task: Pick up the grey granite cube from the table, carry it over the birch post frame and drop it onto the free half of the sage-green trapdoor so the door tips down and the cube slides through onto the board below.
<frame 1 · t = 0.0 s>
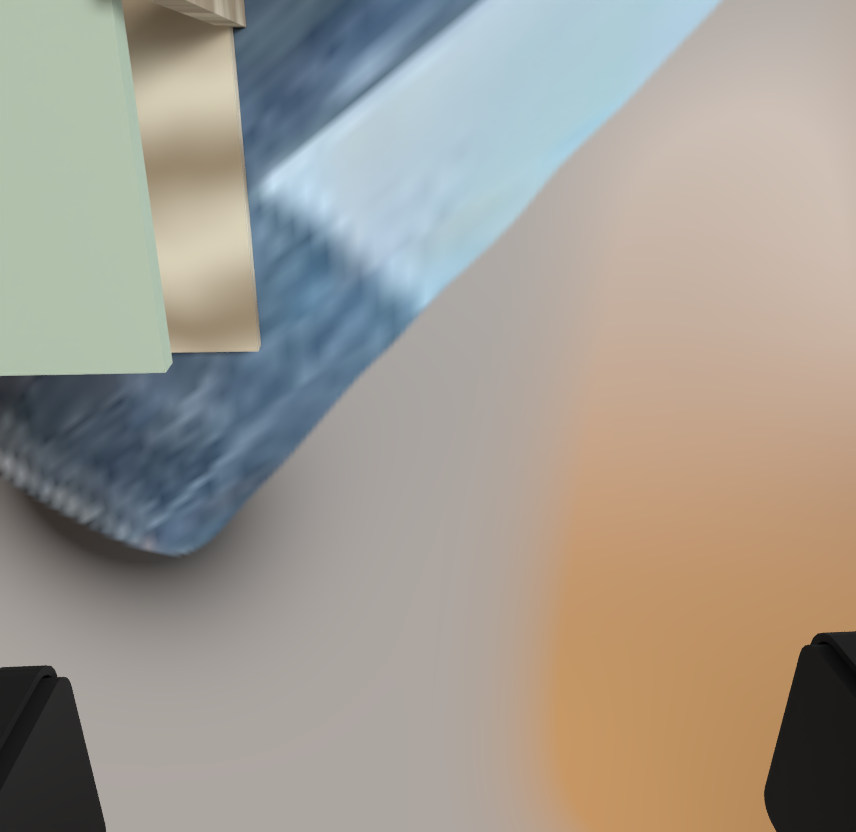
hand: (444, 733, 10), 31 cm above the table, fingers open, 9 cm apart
frame: (92, 145, 35), on the table
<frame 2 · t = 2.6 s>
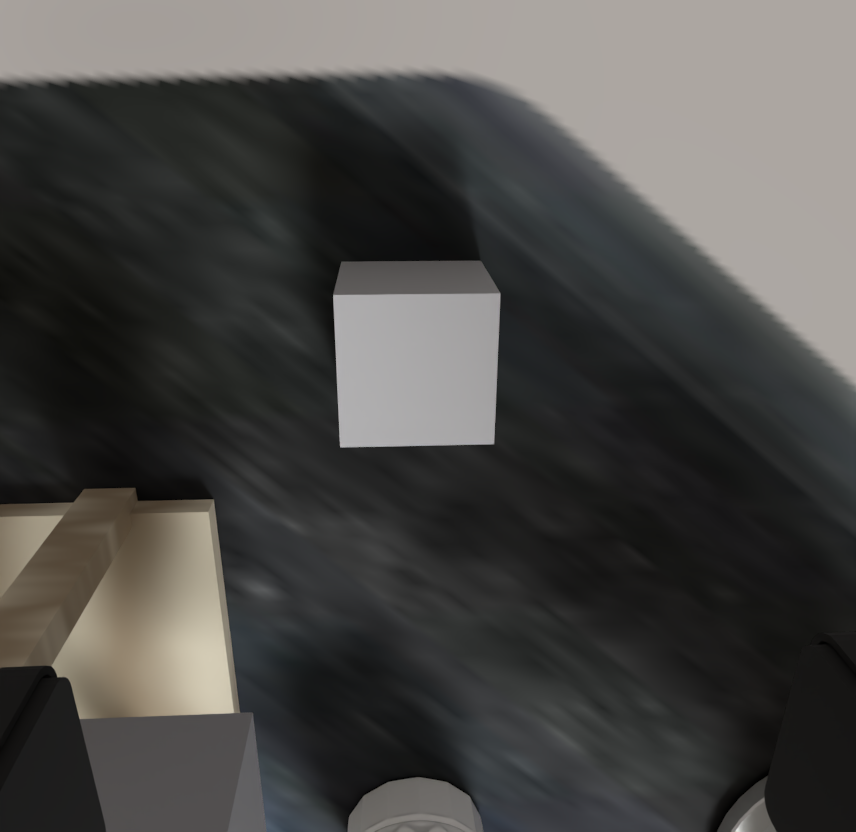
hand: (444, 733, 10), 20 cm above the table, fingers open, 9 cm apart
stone: (411, 327, 28), on the table
white cup: (413, 819, 38), on the table
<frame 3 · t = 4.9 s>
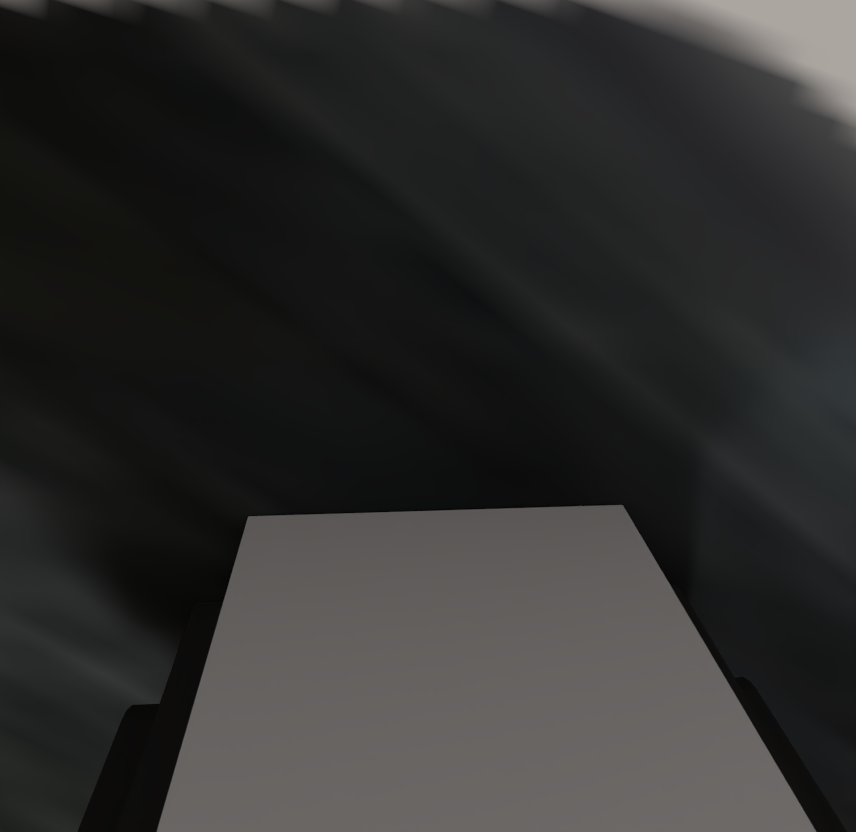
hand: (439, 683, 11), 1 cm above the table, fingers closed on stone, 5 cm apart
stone: (436, 657, 11), on the table, touching gripper
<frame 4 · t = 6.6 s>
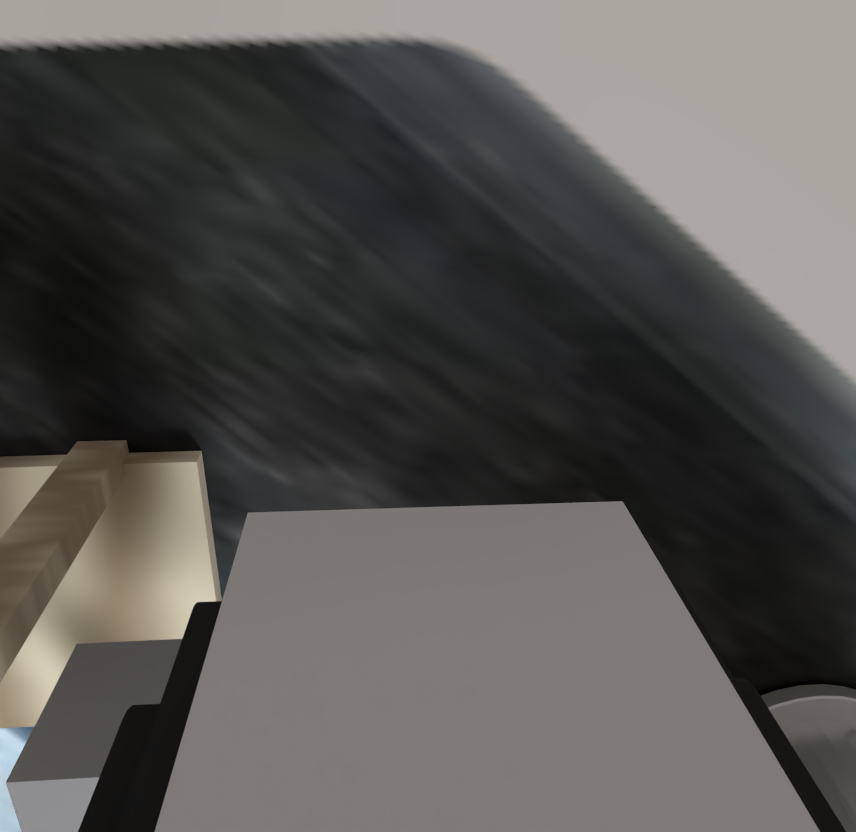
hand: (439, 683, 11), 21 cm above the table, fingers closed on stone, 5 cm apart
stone: (436, 654, 11), point 20 cm above the table, touching gripper
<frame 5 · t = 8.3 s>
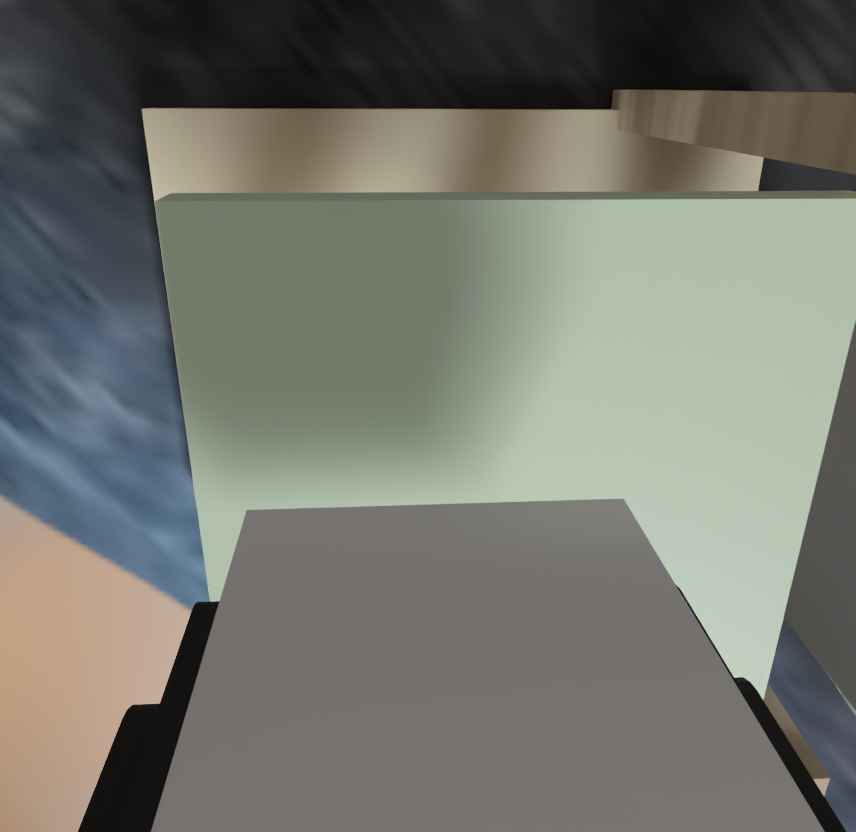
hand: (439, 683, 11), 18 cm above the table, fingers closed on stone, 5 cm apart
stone: (436, 652, 11), point 18 cm above the table, touching gripper
trapdoor: (668, 475, 16), point 13 cm above the table, hinge at 0.0°
frame: (457, 315, 27), on the table
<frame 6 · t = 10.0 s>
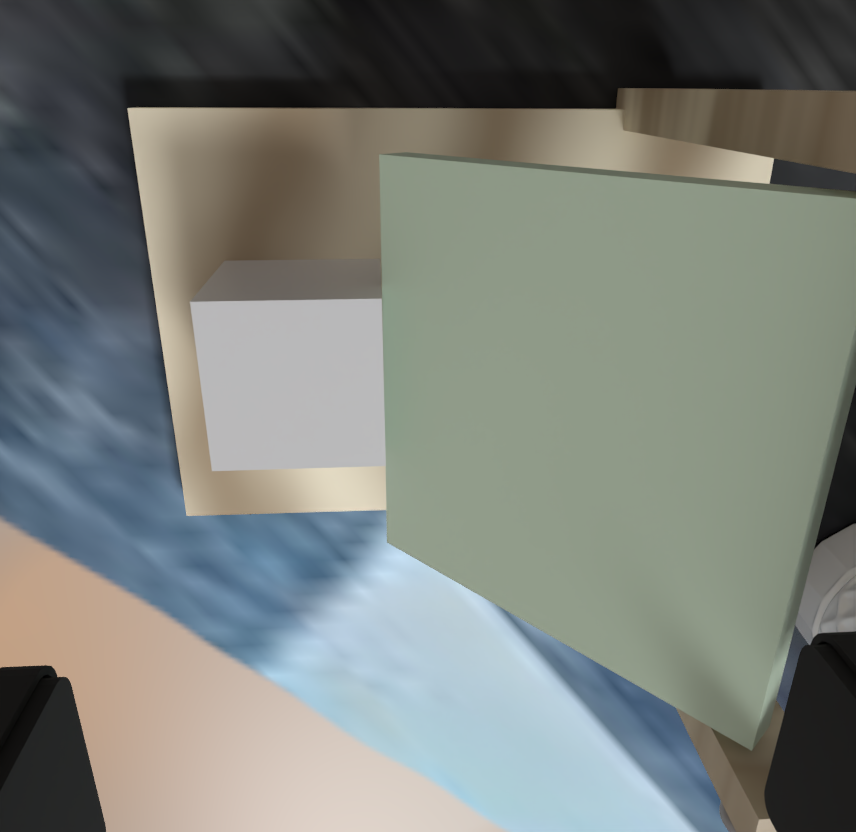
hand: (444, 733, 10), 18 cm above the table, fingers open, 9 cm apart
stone: (382, 356, 23), point 3 cm above the table, tilted 90°, touching frame, trapdoor
trapdoor: (723, 458, 17), point 11 cm above the table, hinge at -47.9°, touching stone
frame: (456, 321, 27), on the table
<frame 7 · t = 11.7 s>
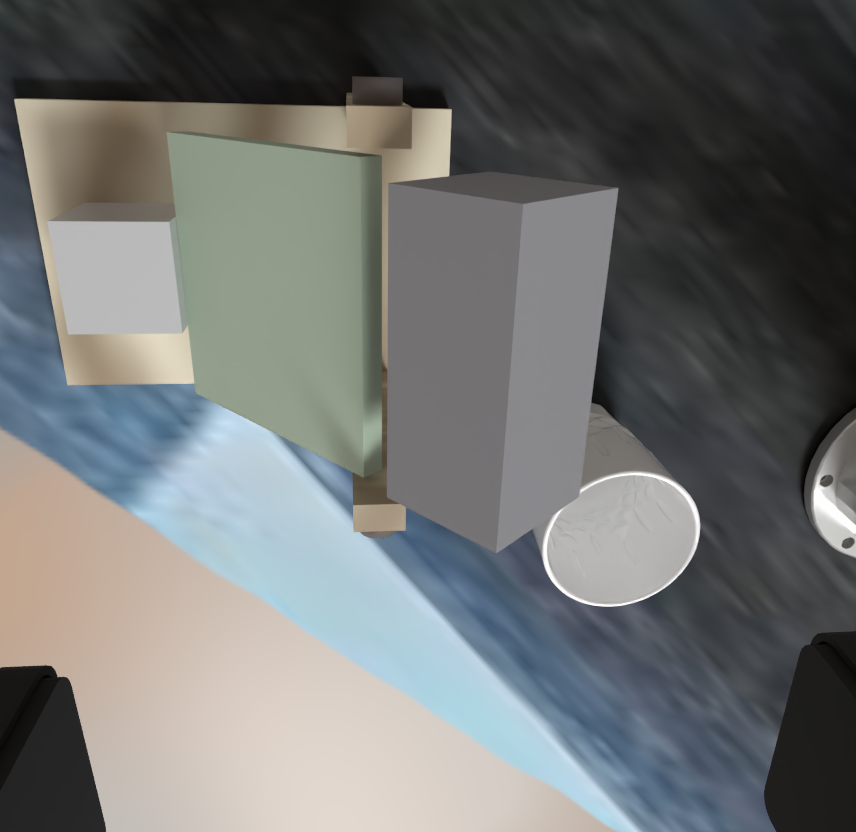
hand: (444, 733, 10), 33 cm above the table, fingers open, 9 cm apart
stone: (186, 266, 35), point 3 cm above the table, tilted 90°, touching frame, trapdoor
white cup: (566, 447, 46), on the table
trapdoor: (349, 310, 29), point 11 cm above the table, hinge at -47.9°, touching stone
frame: (252, 249, 39), on the table
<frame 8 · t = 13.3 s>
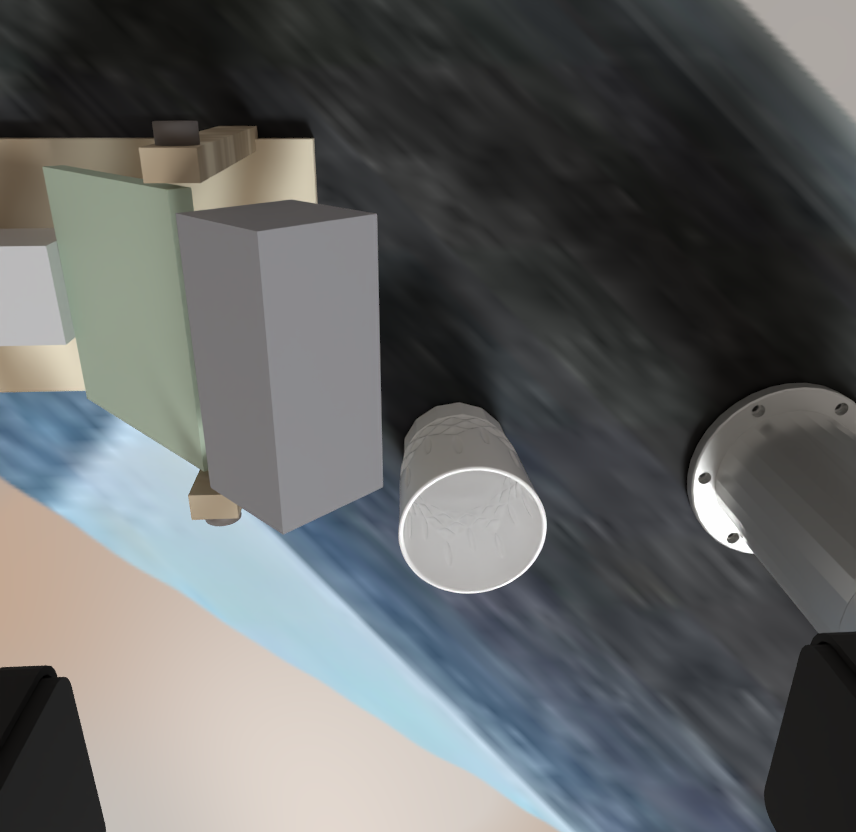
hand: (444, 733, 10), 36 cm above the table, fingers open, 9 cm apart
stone: (74, 284, 39), point 3 cm above the table, tilted 90°, touching frame, trapdoor
white cup: (454, 447, 49), on the table
trapdoor: (190, 322, 33), point 11 cm above the table, hinge at -47.9°, touching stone
frame: (144, 268, 43), on the table
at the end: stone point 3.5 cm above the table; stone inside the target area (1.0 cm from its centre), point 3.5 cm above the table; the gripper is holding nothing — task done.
